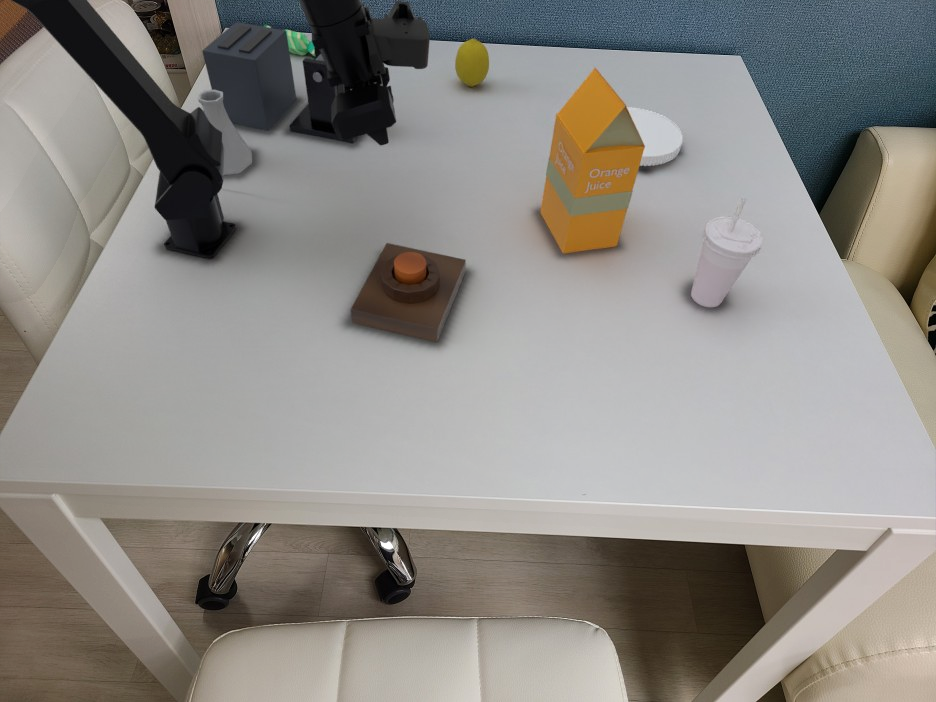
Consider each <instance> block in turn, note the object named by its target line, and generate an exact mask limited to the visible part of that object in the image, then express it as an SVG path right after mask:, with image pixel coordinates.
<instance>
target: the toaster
mask: <svg viewBox="0 0 936 702" xmlns="http://www.w3.org/2000/svg"><path fill="white" fill-rule="evenodd" d="M263 26H264V25H263ZM263 26H262V25H256V24H250V23H245V22H239V21H235V22H234V23H233V24H232V25H231V26H229V28H227V29H226V30H225V31H224V32H222V33H221V34H220V35H219V36H218V37H216V39H214V40H213V41H212V42H211V43H209V44H208V45H207V46H206V47H204V48H203V49H202V50H201V52H202V55H203V56H202V57H203V60H204V64H205V68H206V72H207V75H208V76H207V77H208V80H209V83H210V88H211V90H218V91H221V92H223V105H224V108H225V110H226V113H227V115H228V117H229V119H230V121H231V122H232V124H233V125H234V126H235V125H236V126H242V127H246V128H251V129H256V130H257V129H258V130H262V131H266V132H269V131H270V130H271V129H272V128H273V127H274V125H275V124H277V122H279V120H280V119H281V118H282V117H283V116H284V114H285V113H286V112H287V111H288V110H289V109H290V107H291V106H292V105H293V104H294V103H295V102H296V101H297V93H296V86H295V80H294V72H293V66H292V61H291V53H290V52H289V46H288V39H287V32H286V30H287V29H286V30H285V29H279V28H274V27H271V28H269V27H263Z"/></svg>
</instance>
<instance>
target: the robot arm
mask: <svg viewBox="0 0 936 702" xmlns="http://www.w3.org/2000/svg"><path fill="white" fill-rule="evenodd" d="M10 1H11V2H13V3H14V4H16V5H18V6H20V7H22V8H24V9H25V10H26V11H28V12H29V13H30V14H31V15H32V16H33V17H34V18H35V19H36V20H37V21H38V22H39V24H41V26H42V27H43V28H44V29H45V30H46V31H47V32H48V33H49V34H50V36H52V38H53V39H54V40H55V41H56V42H57V43H58V44H59V45H60V46H61V48H62V49H63V50H64V51H65V53H67V54H68V55H69V56H70V57H71V58H72V59H73V61H74V62H75V63H76V64H77V65H78V67H80V68H81V69H82V71H83V72H84V73H85V74H86V75H87V76H88V77H89V78H90V79H91V80H92V81H93V83H94V84H95V85H96V86H97V87H98V88H99V89H100V90H101V91H102V92H103V93H104V95H106V97H107V98H108V99H109V100H110V101H111V102H112V104H114V105H115V107H116V108H117V109H118V110H119V111H120V112H121V113H122V115H124V116H125V118H126V119H127V120H128V121H129V122H130V124H132V126H134V127H135V128H136V129H137V131H138V132H139V133H140V135H142V137H143V139H144V141H145V143H146V146H147V148H148V150H149V152H150V154H151V157H152V159H153V161H154V164H155V166H156V168H157V169H158V171H159V173H158V174H159V175H158V181H157V187H156V195H155V200H154V201H155V202H154V209H155V211H156V212H157V213H158V214H159V215H160V216H161V218H162V219H163V220H164V221H165V222H166V224H167V227H168V230H169V233H170V236H169V237H168V238H167V239H166V241H164V243H163V246H164V249H165V250H170V251H174V252H178V253H183V254H187V255H192V256H196V257H201V258H205V259H213V258H214V257H215V256H216V255H217V253H218V252H219V251H220V250H221V249H222V247H223V246H224V245H225V244H226V242H227V241H228V240H229V239H230V237H231V236H232V235H233V233H234V232H235V231H236V229H237V226H236V224H235V223H233V222H228V221H225V217H224V213H223V210H222V206H221V202H220V198H219V193H220V191H221V190H222V188H223V183H224V175H223V172H224V146H223V143H222V132H221V131H219V130H218V129H216V128H215V127H214V126H213V125H212V124H211V123H210V122H209V120H208V118H207V117H206V115H205V113H204V111H203V108H202V107H200V106H198V107H196V108H195V109H193V111H191V112H189V111H187V110H185V109H183V108H181V107H179V106H177V105H176V104H175V103H173V101H171V99H170V98H169V97H168V96H167V94H165V92H164V91H163V89H161V87H160V86H159V85H158V83H157V82H156V81H155V80H154V79H153V78H152V76H151V75H150V74H149V73H148V72H147V70H146V69H145V68H144V67H143V65H142V64H141V63H140V62H139V61H138V59H137V58H136V57H135V56H134V55H133V54H132V53H131V51H130V50H129V49H128V48H127V47H126V45H125V44H124V43H123V41H122V40H121V39H120V38H119V37H118V35H117V34H116V33H115V32H114V31H113V29H111V27H110V26H109V25H108V23H107V22H106V21H105V20H104V19H103V17H102V16H101V15H100V14H99V13H98V12H97V10H96V9H95V8H94V7H93V6H92V4H91V3H90V2H89V1H88V0H10ZM298 2H299V4H300V6H301V9H302V12H303V13H304V17H305V19H306V21H307V23H308V26H309V28H310V32H311V41H312V43H313V45H314V48H315V50H320V52H321V55H322V57H323V60H324V62H325V64H326V67H327V69H328V70H327V75H328V81H329V83H330V86H331V87H334V86H338V95H337V96H336V97H335V99H334V101H333V103H332V105H331V122H332V126H333V128H334V130H335V133H336V135H337V137H338V139H340V140H343V141H344V140H348V139H351V138H354V137H357V138H358V137H361V136H364V135H368V136H369V137H370V139H372V140H373V141H374V142H375V143H377V144H378V145H379V146H385V145H388V144H389V143H390V140H389V133H388V128H391V127H393V126H394V125H395V124H396V123H397V118H396V110H395V106H394V102H392V95H393V91H392V90H393V89H392V85H389V83H390V82H391V81H390V80H391V77H390V70H389V68H388V67H387V66H389V67H400V68H401V67H404V68H414V69H415V70H424V69H426V68H427V67H428V66H429V53H430V39H431V36H430V31H429V27H428V24H427V22H426V21H425V20H423V18H422V16H417V18H416V16H415V13H414V11H413V9H412V6H411V4H410V2H409V1H403V0H401V1H399V0H396V1H394V4H393V5H392V7H391V8H390V11H389V13H388V14H383V18H382V17H381V18H374V17H373V16H372V14H371V10H370V8H369V6H366V5H365V3H362V0H298ZM343 141H342V142H343Z"/></svg>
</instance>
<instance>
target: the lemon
mask: <svg viewBox="0 0 936 702" xmlns="http://www.w3.org/2000/svg"><path fill="white" fill-rule="evenodd" d="M454 61H455V63H454V67H455V73H456V76H457V78H458V79H459V81H460V82H461V83H462V84H464V85H467V86H468V87H469V88H473V87H475V86H477V85H479V84H481V83H482V82H484V80H486V78H487V76H488V73H489V70H490V56H489V51H488V50H487V48H486V46H485V44H484V43H482V42H481V41H480V40H477V39H476V38H471V39H468V40H466V41H464V42H463V43H462V44H461V45H460V46H459V48H458V49H457V52H456V55H455V60H454Z"/></svg>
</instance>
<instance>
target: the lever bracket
mask: <svg viewBox="0 0 936 702" xmlns="http://www.w3.org/2000/svg"><path fill="white" fill-rule="evenodd" d="M314 51H315V57H314V58H308V57H304V59H303V60H302V66H303V72H304V73H303V74H304V82H305V88H306V89H305V90H306V95H307V96H306V98H307V104H306V105H305V107H304V108H303V109H302V110H301V111H300V112H299V114H298V115H297V116H296V117H295V118H294V119H293V121H292V122H291V123H290V124H289V131H290V132H292V133H297V134H301V135H307V136H313V137H318V138H322V139H328V140H332V141H333V140H334V141H338V142H343V143H348V144H354V143H355V142H356V140H357V139H358V137H354V138H351V139H348V140H344V141H343V140H340V139H338V137H337V135H336V133H335V130H334V128H333V126H332V122H331V105H332V103H333V101H334V99H335V97H336V96H337V95H338V86H334V87H331V86H330V83H329V81H328V75H327V70H328V69H327V67H326V64H325V62H324V61H321V60H315V59H316V58H317V57H318V56H319V55H320V54H321V52H320V50H315V48H314Z"/></svg>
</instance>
